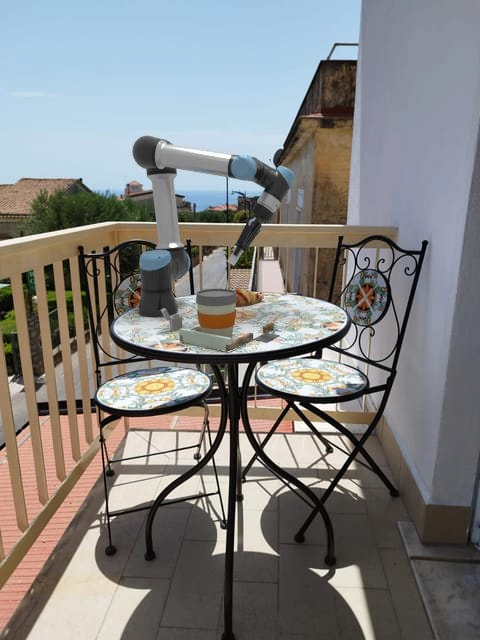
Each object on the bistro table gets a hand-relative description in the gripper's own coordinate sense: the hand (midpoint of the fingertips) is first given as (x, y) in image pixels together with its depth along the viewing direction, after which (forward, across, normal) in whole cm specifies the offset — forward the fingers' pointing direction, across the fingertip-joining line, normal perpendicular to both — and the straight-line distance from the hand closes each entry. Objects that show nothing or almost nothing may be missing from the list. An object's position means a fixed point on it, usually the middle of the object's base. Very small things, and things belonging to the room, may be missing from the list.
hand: (230, 263), depth 155 cm
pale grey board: (+26, -28, -16) cm, 41 cm away
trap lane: (+20, -16, -18) cm, 31 cm away
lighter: (+30, -16, 0) cm, 34 cm away
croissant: (+11, +24, -6) cm, 28 cm away
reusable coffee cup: (+23, -21, -16) cm, 35 cm away
